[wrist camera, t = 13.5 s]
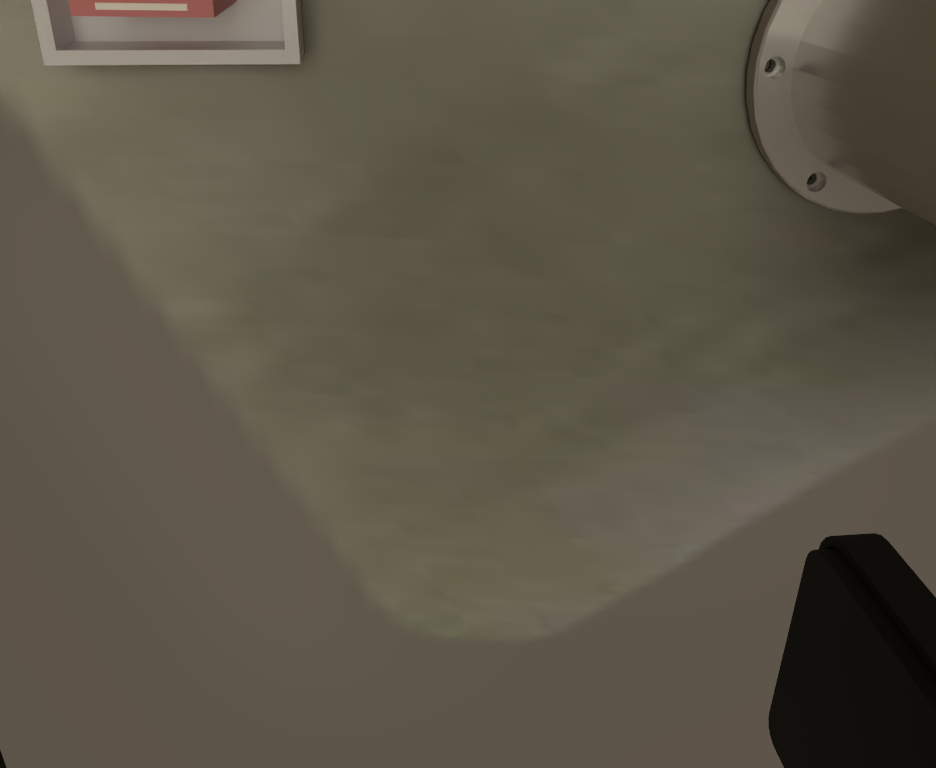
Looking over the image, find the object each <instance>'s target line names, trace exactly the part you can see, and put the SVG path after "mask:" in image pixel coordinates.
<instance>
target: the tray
mask: <svg viewBox="0 0 936 768" xmlns="http://www.w3.org/2000/svg"><path fill="white" fill-rule="evenodd" d="M31 2H32V7H33V12H34V17H35V22H36V27H37V32H38V37H39V42H40V47H41V51H42V56H43V61H44V65H223V64H301V61H302V58H303V56H304V53H305V51H304V37H303V23H302V9H301V0H237V2H235V3H234V4H233V5H231V6H230V7H228V8H227V9H226V10H224V11H223V12H222V13H220V14H219V15H217V16H216V17H215V18H200V17H109V16H71V14H70V8H69V3H68V0H31Z"/></svg>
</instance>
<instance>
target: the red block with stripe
mask: <svg viewBox="0 0 936 768" xmlns="http://www.w3.org/2000/svg"><path fill="white" fill-rule="evenodd" d="M235 2H237V0H68V3H69V8H70V14H71V16H109V17H200V18H215V17H216V16H217V15H219V14H220V13H222V12H223V11H224V10H226V9H227V8H228V7H230V6H231V5H233V4H234V3H235Z"/></svg>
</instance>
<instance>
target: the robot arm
mask: <svg viewBox="0 0 936 768" xmlns="http://www.w3.org/2000/svg"><path fill="white" fill-rule="evenodd" d="M769 60H771V67H770V68H769V69H768V70H766V71H765V65H766V63H767V62H768V61H769ZM746 103H747V109H748V115H749V121H750V126H751V130H752V133H753V135H754V138H755V140H756V143H757V146H758V148H759V151H760V153H761V154H762V156H763V157H764V159H765V160H766V162H767V163H768V165H769V166H770V168H771V169H772V171H773V172H774V173H775V174H776V175H777V176H778V177H779V178H780V179H781V180H782V181H783V182H784V183H785V184H786V185H788V186H789V187H790V188H791V189H792V190H794V191H795V192H797V193H798V194H800V195H801V196H803V197H804V198H806V199H808V200H809V201H812V202H814V203H817V204H819V205H821V206H824V207H826V208H828V209H831V210H836V211H841V212H847V213H852V214H875V213H884V212H889V211H894V210H899V209H905V210H907V211H909V212H911V213H913V214H914V215H916V216H918V217H920V218H922V219H924V220H926V221H927V222H929V223H931V224H933V225H935V226H936V0H770V1H769V3H768V5H767V7H766V9H765V10H764V13H763V15H762V18H761V21H760V23H759V26H758V29H757V31H756V34H755V37H754V40H753V43H752V48H751V53H750V58H749V63H748V68H747V87H746ZM811 175H812V178H811V180H809V181H808V179H809V177H810V176H811ZM807 181H808V182H807ZM769 730H770V736H771V739H772V743H773V745H774V748H775V750H776V752H777V754H778V756H779V758H780V760H781V762H782V764H783V766H784V768H936V598H935V596H934V595H933V594H932V593H931V592H930V591H929V589H928V588H927V587H926V586H925V585H924V583H923V582H922V581H921V580H920V579H919V577H918V576H917V575H916V574H915V573H914V571H913V570H912V569H911V568H910V567H909V566H908V564H907V563H906V562H905V561H904V560H903V558H902V557H901V556H900V555H899V554H898V553H897V551H896V550H895V549H894V548H893V547H892V545H891V544H890V543H889V542H888V541H887V540H886V539H885V538H884V537H883V536H881V535H878V534H875V533H874V534H857V535H843V536H830V537H826V538H825V539H824V540H823V541H822V542H821V545H820V547H819V550H813V551H811V552H810V553H809V554H808V556H807V558H806V561H805V565H804V570H803V574H802V578H801V582H800V586H799V590H798V595H797V599H796V603H795V607H794V611H793V616H792V620H791V624H790V628H789V632H788V637H787V641H786V645H785V649H784V653H783V658H782V662H781V666H780V670H779V674H778V679H777V683H776V687H775V691H774V695H773V700H772V704H771V708H770V712H769ZM0 768H6V765H5V763H4V759H3V757H2V754H1V751H0Z"/></svg>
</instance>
